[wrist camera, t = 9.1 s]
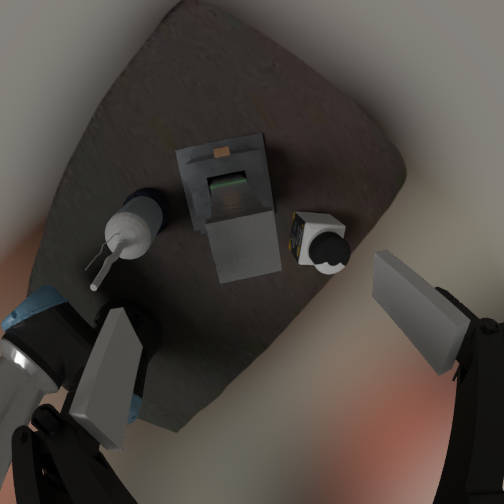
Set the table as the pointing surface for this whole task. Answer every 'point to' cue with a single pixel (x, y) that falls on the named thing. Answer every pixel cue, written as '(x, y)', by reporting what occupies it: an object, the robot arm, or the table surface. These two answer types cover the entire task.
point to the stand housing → (222, 172)
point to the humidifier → (133, 228)
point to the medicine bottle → (319, 241)
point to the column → (241, 231)
